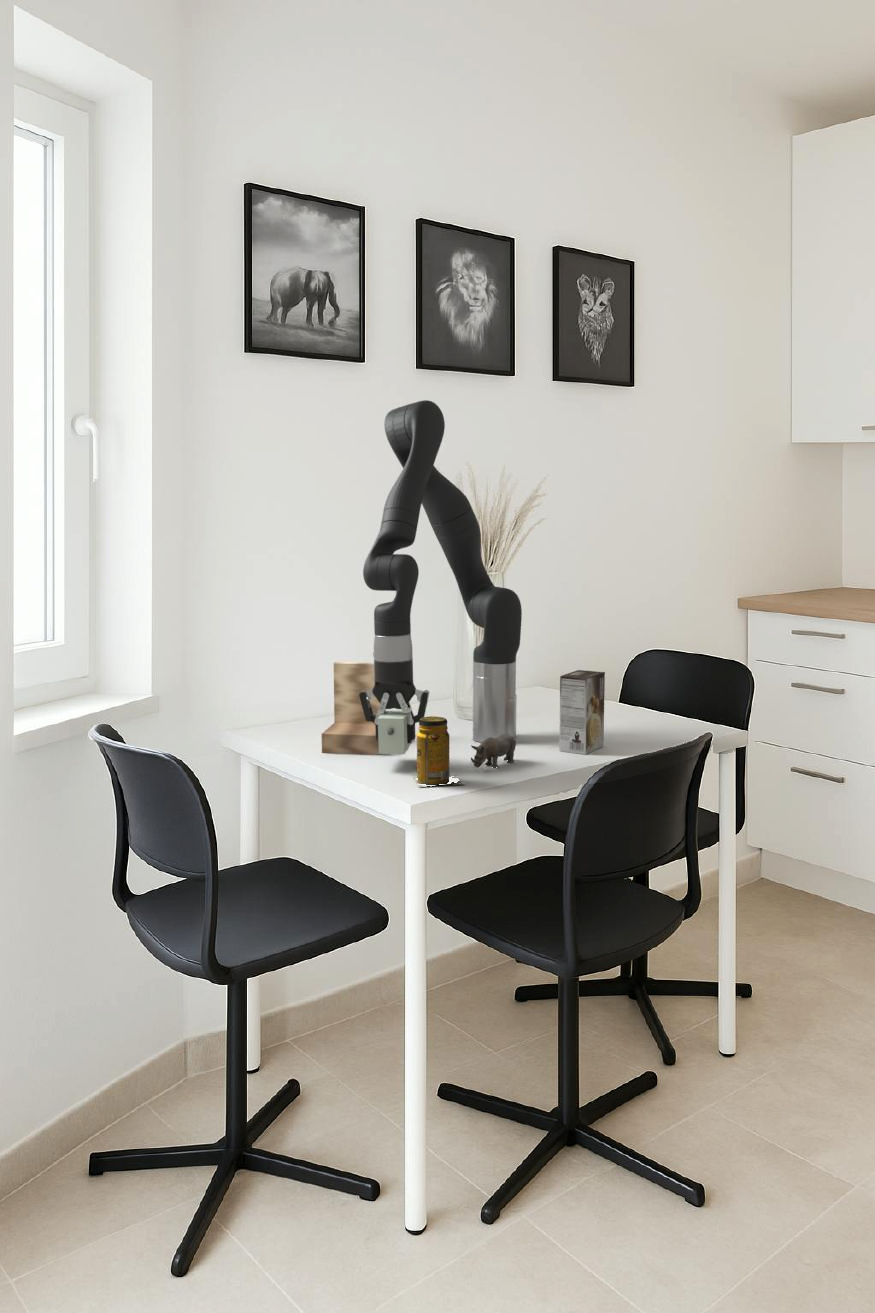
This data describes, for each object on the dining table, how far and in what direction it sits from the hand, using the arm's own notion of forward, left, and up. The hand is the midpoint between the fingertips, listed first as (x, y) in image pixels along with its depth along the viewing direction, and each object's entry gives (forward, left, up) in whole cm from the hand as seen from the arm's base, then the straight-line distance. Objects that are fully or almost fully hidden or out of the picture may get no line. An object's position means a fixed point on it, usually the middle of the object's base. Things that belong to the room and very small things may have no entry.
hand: (395, 742), depth 210 cm
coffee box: (-36, -19, -5) cm, 41 cm away
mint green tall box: (0, 0, -1) cm, 1 cm away
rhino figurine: (-19, -2, -5) cm, 20 cm away
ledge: (+11, -13, -5) cm, 18 cm away
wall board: (+11, -19, -5) cm, 23 cm away
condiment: (-10, +11, -5) cm, 16 cm away
